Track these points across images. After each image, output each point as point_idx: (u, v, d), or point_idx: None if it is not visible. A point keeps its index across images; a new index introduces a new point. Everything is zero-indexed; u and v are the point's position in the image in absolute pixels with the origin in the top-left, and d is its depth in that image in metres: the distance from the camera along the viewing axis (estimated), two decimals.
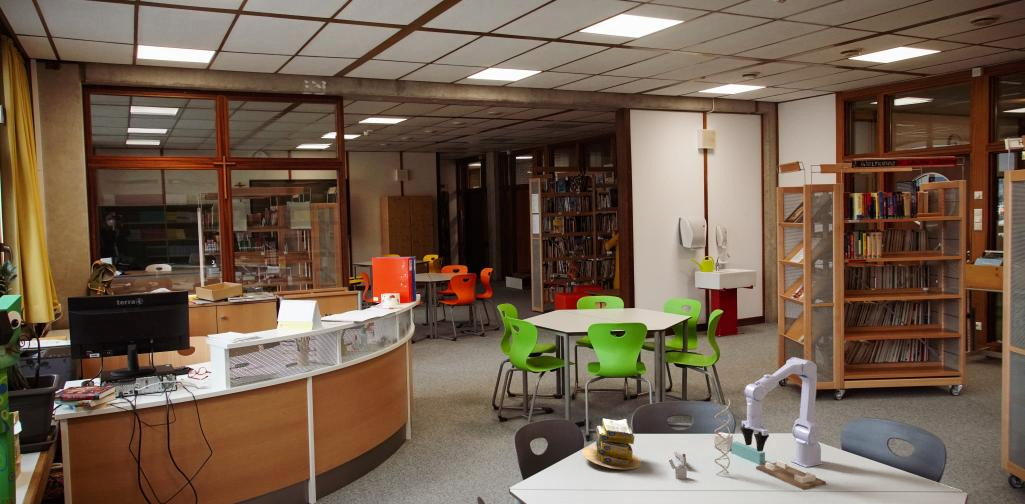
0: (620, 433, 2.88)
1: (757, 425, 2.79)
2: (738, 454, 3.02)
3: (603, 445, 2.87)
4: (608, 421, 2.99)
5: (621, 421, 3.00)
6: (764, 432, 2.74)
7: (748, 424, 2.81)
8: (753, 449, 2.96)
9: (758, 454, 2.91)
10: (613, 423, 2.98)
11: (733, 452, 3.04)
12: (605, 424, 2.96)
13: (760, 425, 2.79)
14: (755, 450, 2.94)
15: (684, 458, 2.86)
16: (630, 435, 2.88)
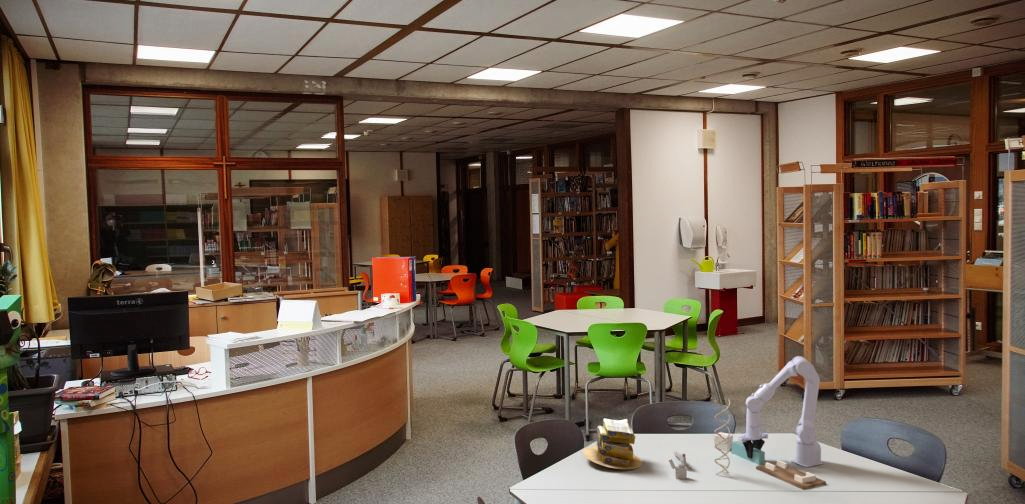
0: (621, 433, 2.88)
1: (747, 434, 2.95)
2: (738, 454, 3.02)
3: (604, 445, 2.87)
4: (609, 421, 2.99)
5: (622, 421, 3.00)
6: (739, 439, 2.93)
7: None
8: (753, 449, 2.96)
9: (758, 454, 2.91)
10: (614, 423, 2.98)
11: (733, 452, 3.04)
12: (606, 424, 2.96)
13: (750, 435, 2.93)
14: (755, 450, 2.94)
15: (684, 458, 2.86)
16: (631, 435, 2.88)
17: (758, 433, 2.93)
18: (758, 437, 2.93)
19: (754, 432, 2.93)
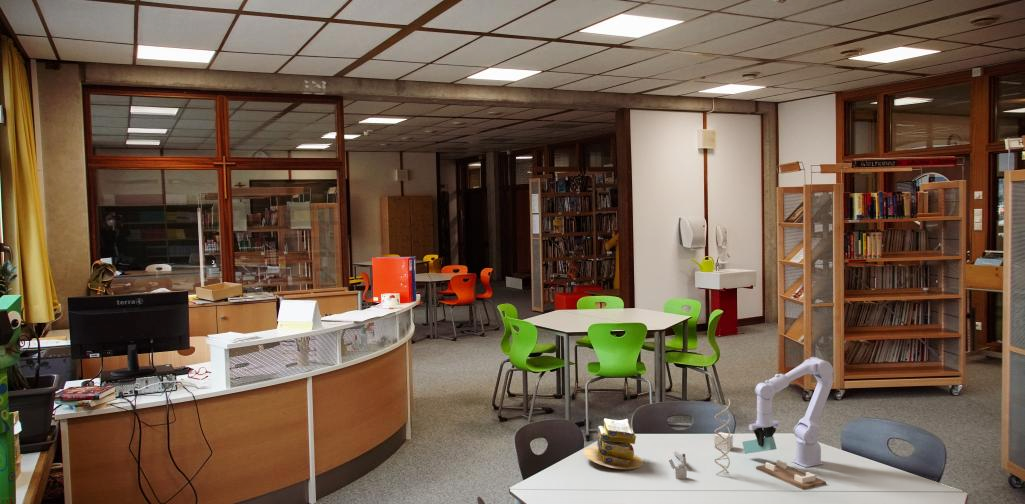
0: (621, 433, 2.88)
1: (758, 421, 2.89)
2: (750, 450, 2.95)
3: (604, 445, 2.87)
4: (609, 421, 2.99)
5: (622, 421, 3.00)
6: (749, 426, 2.87)
7: None
8: None
9: (767, 439, 2.86)
10: (614, 423, 2.98)
11: (746, 451, 2.98)
12: (606, 424, 2.96)
13: (761, 423, 2.88)
14: None
15: (684, 458, 2.86)
16: (631, 435, 2.88)
17: (769, 420, 2.87)
18: (769, 424, 2.87)
19: (765, 419, 2.87)
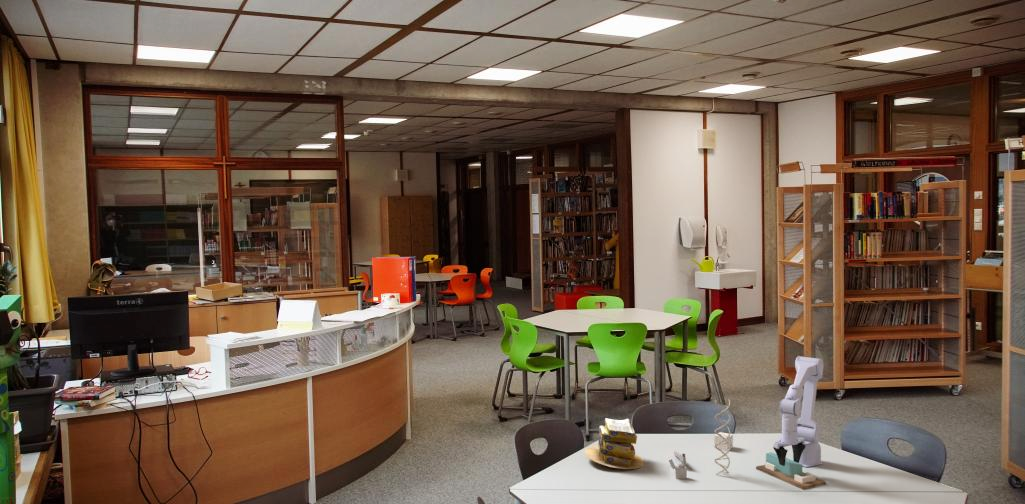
0: (623, 433, 2.88)
1: (783, 439, 2.77)
2: None
3: (606, 445, 2.88)
4: (610, 421, 2.99)
5: (623, 421, 3.00)
6: (774, 444, 2.75)
7: None
8: (789, 461, 2.78)
9: (795, 466, 2.73)
10: (615, 423, 2.99)
11: None
12: (607, 424, 2.96)
13: (786, 440, 2.76)
14: (792, 462, 2.76)
15: (684, 458, 2.86)
16: (633, 435, 2.88)
17: (795, 438, 2.75)
18: (795, 442, 2.75)
19: (791, 437, 2.75)
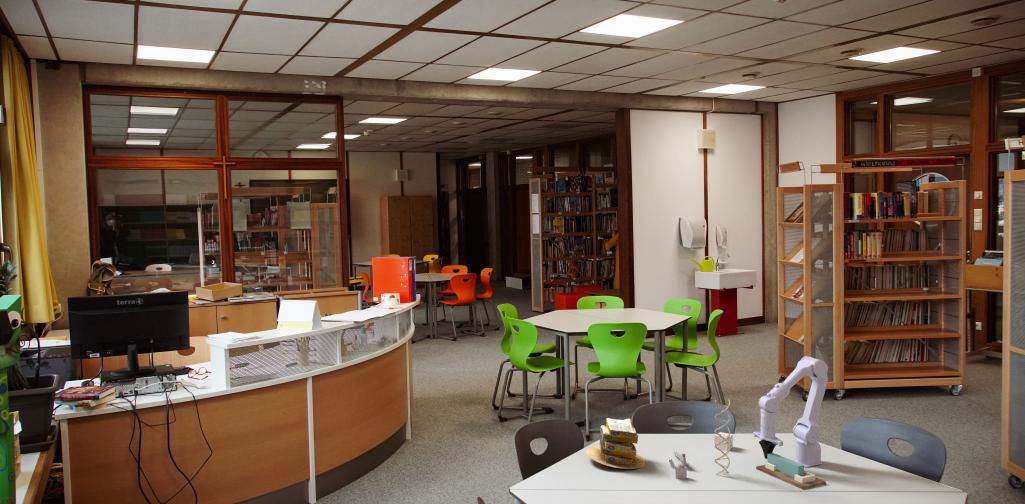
0: (624, 433, 2.88)
1: (772, 436, 2.85)
2: None
3: (607, 445, 2.88)
4: (612, 421, 3.00)
5: (625, 421, 3.00)
6: (780, 443, 2.81)
7: (762, 435, 2.87)
8: (791, 461, 2.77)
9: (797, 467, 2.72)
10: (617, 423, 2.99)
11: None
12: (609, 424, 2.97)
13: (774, 436, 2.86)
14: (793, 463, 2.76)
15: (684, 458, 2.86)
16: (634, 435, 2.88)
17: None
18: None
19: None
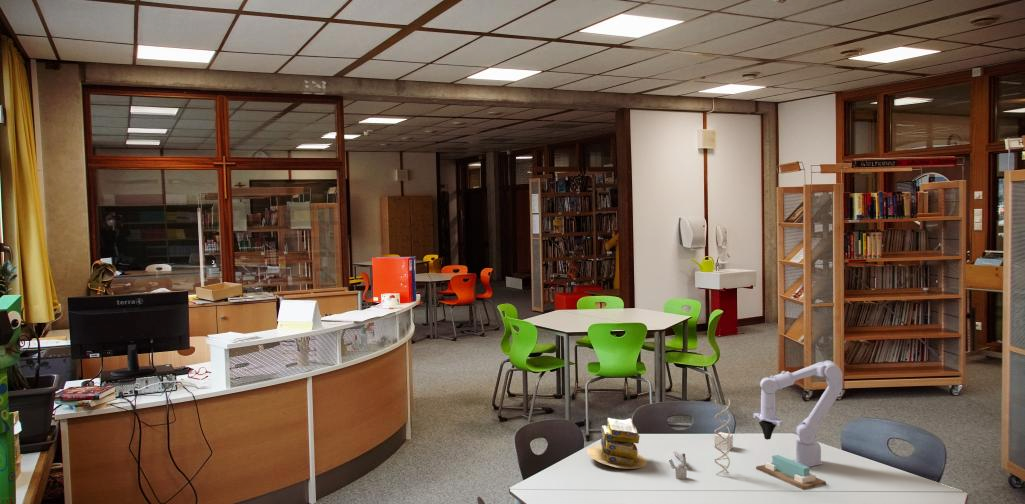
0: (625, 432, 2.88)
1: (771, 417, 2.92)
2: (779, 469, 2.80)
3: (608, 444, 2.88)
4: (613, 420, 3.00)
5: (626, 420, 3.01)
6: (780, 423, 2.88)
7: (763, 416, 2.93)
8: (796, 464, 2.74)
9: (802, 469, 2.70)
10: (618, 422, 2.99)
11: None
12: (610, 423, 2.97)
13: (774, 417, 2.92)
14: (798, 465, 2.73)
15: (684, 458, 2.86)
16: (635, 434, 2.88)
17: None
18: None
19: None
